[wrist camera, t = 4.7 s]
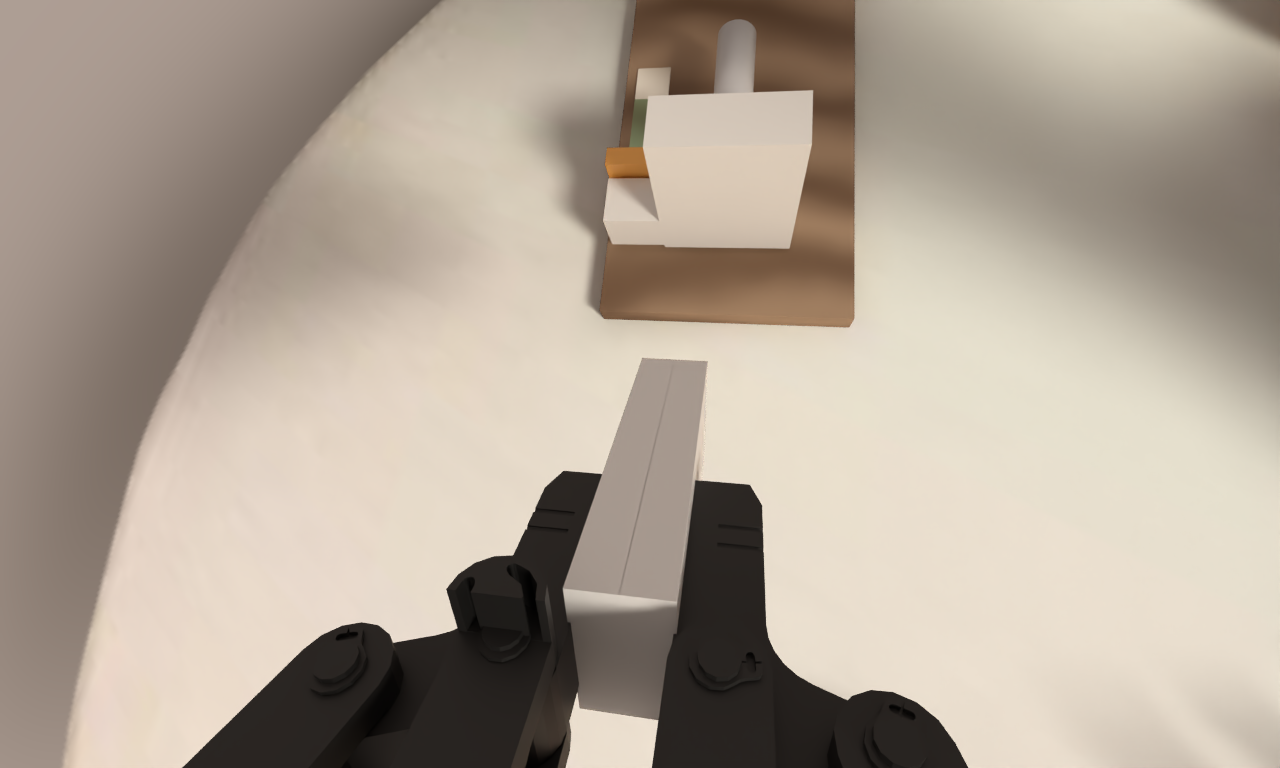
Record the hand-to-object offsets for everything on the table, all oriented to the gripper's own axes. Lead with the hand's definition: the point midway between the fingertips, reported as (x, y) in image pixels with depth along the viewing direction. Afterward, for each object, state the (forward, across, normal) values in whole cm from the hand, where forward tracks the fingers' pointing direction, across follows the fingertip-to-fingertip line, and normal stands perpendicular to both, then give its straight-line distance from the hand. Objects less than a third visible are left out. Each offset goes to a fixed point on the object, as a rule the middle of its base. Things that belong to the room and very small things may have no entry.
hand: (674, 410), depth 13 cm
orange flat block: (+28, +5, +1) cm, 28 cm away
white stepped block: (+29, +1, -1) cm, 29 cm away
